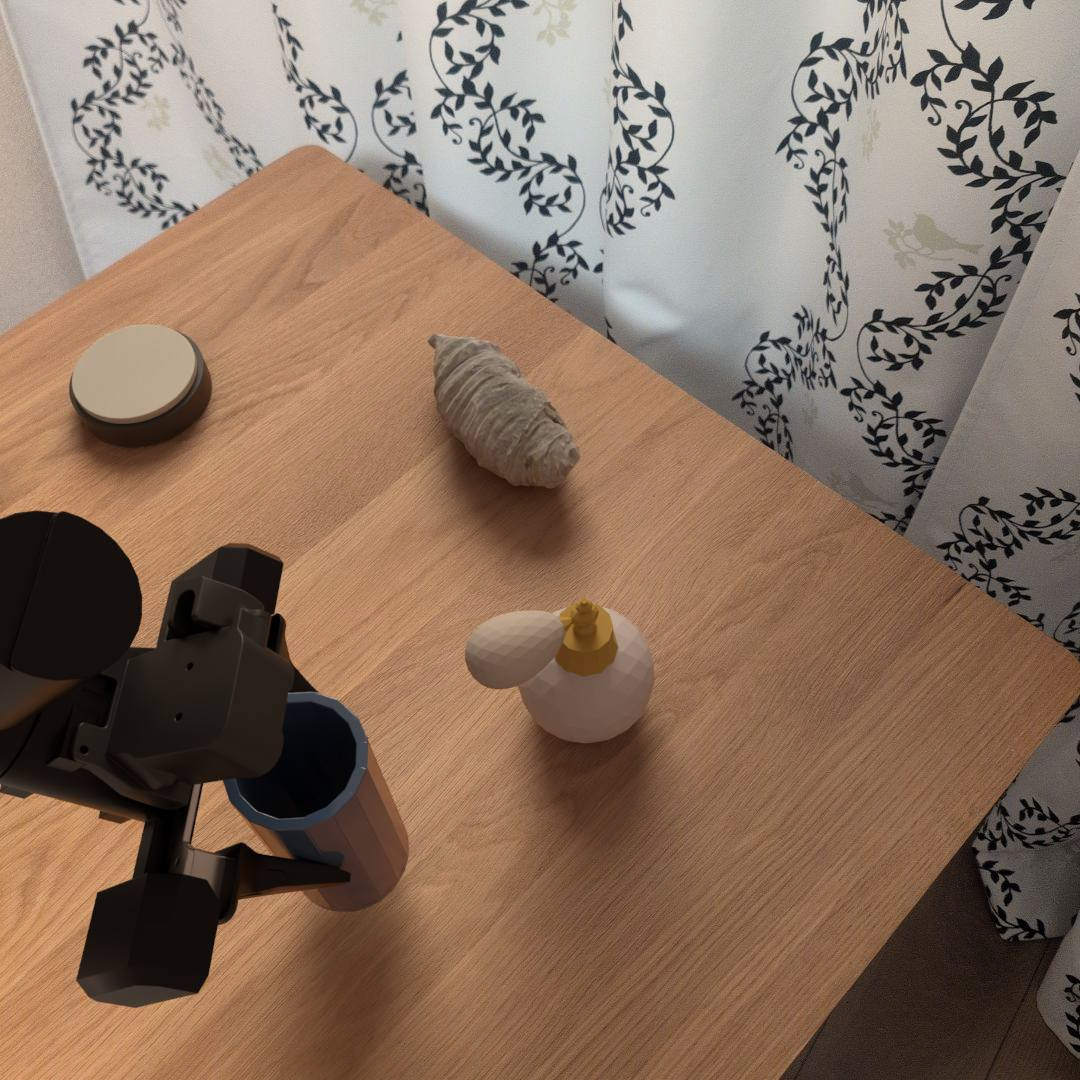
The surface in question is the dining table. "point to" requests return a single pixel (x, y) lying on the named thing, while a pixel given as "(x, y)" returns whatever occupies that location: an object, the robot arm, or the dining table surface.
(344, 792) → the cup
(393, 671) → the dining table surface
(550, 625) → the perfume bottle
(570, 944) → the dining table surface
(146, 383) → the beige and brown disc
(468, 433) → the taro root
